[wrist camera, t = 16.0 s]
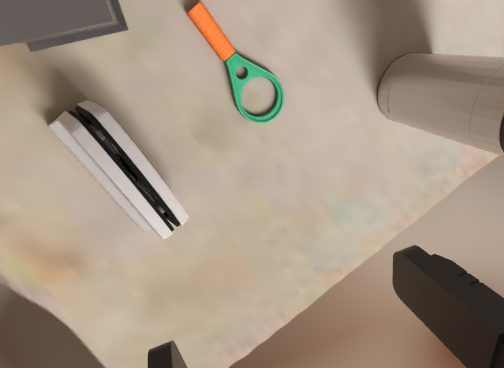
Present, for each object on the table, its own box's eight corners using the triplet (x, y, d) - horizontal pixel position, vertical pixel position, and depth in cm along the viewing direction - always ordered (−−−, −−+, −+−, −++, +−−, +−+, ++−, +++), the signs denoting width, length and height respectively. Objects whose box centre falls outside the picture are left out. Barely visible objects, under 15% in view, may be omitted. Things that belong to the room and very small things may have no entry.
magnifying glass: (289, 100, 40) (295, 102, 38) (254, 131, 40) (258, 134, 39) (213, -12, 32) (216, -15, 31) (170, 27, 33) (172, 26, 31)
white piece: (44, 122, 32) (46, 127, 24) (84, 98, 34) (98, 95, 26) (141, 230, 41) (167, 260, 33) (170, 206, 42) (201, 230, 34)
